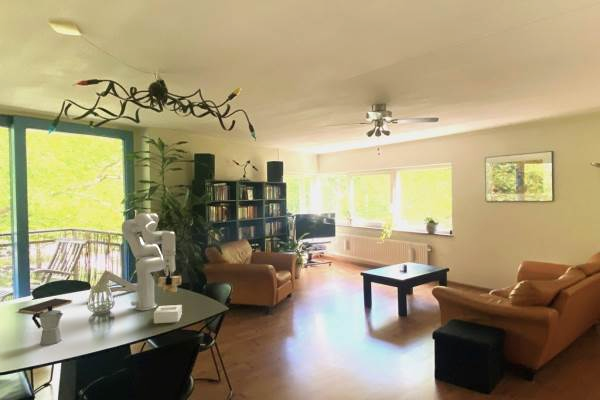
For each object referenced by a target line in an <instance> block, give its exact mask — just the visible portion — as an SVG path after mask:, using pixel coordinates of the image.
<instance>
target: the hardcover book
mask: <svg viewBox="0 0 600 400" xmlns="http://www.w3.org/2000/svg"><path fill="white" fill-rule="evenodd" d="M72 302H73V300H71V299H64V298H56V297H55V298H53V299H49V300H46V301H42V302H38V303H36V304H31V305H29V306H26V307H22V308H19V309H18V312H20V313H26V314H27V313H28V314H33V315H34V314H36V313H40V312H41V311H44V312H46V311H48V308H47V306H50V305H53V308H52V310H55V309H57V308H60V307H63V306H66V305H67V306H68V305H70V304H73V303H72Z"/></svg>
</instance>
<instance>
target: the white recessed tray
mask: <svg viewBox="0 0 600 400" xmlns="http://www.w3.org/2000/svg"><path fill="white" fill-rule="evenodd" d="M155 309H156V310H155V311H154V312H153V324H165V323H166V324H167V323H168V324H169V323H178V322H179V321H180V319H181V317H182V316H181V315H183V305H182V304H175V305H170V304H169V305H159V306H157V307H156V308H155Z"/></svg>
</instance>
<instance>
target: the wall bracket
mask: <svg viewBox="0 0 600 400" xmlns="http://www.w3.org/2000/svg"><path fill="white" fill-rule="evenodd" d="M100 276H101V277H100V278H99V279H98V281H97V283H96V285H95V286H98V285H106V286H107V285H108V284H109V282H112V283H114V284H117V285H118V286H114V287H113V286H111V287H109V288H110V290H111V293H115V292H126V293H131V294H133V292H134V293H136V292H138V285H136V284H134V283H132V282H130V281H128V280H126V279H124V278H122V277H121V276H118V275H116V274H114V273H112V272H110V271H108V270H104V271H103V273H102V275H100ZM87 300H88V298H87ZM87 300H86V301H87Z"/></svg>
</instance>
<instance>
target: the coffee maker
mask: <svg viewBox="0 0 600 400" xmlns="http://www.w3.org/2000/svg"><path fill="white" fill-rule="evenodd" d="M47 308H48V311H45V312H44V311H41V312H40V313H36V314H34V313H33V315H32V317H31V320H32V321H33V323H34V324H35V326H36V327H37V328H38V329H42V331H41V337H40V343H39V344H40V346H42V347H44V346H49V347H50V346H53V345H56V344H59V343H60V342H61V341H62V337H61V332H60V328H59V325H60V320H61V318H62V316H63V315H64V313H62V311H61V310H56V309H52V308H53V305H50V306H47ZM38 319H39V321H38Z"/></svg>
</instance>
